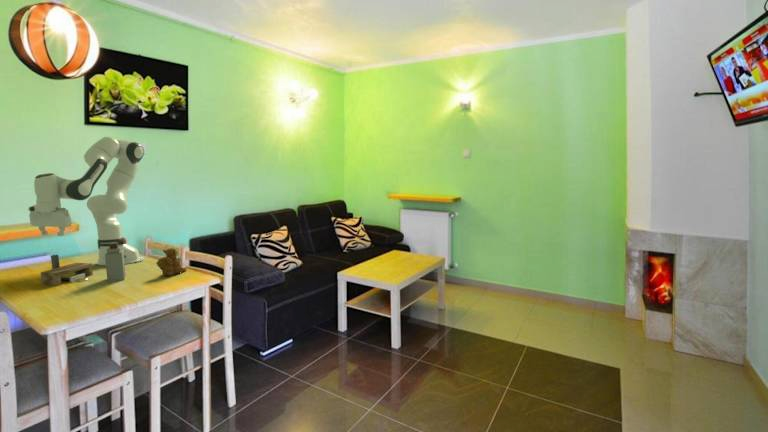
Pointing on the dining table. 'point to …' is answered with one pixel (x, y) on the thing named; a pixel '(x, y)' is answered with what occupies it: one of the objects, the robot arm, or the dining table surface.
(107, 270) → the perfume bottle
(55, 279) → the bench
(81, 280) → the token
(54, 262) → the slab with upright peg
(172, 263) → the stuffed squirrel
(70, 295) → the dining table surface
